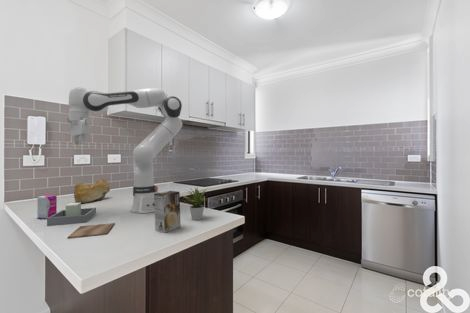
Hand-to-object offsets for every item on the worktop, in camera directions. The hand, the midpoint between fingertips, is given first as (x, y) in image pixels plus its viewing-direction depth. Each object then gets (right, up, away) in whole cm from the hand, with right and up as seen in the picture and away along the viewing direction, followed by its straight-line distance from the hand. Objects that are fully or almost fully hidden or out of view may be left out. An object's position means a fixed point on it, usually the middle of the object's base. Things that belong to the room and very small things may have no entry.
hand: (79, 144), depth 120 cm
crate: (+1, -39, -6) cm, 39 cm away
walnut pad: (+22, -39, -23) cm, 50 cm away
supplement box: (-16, -39, -2) cm, 42 cm away
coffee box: (+54, -39, -22) cm, 70 cm away
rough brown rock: (-21, -39, +41) cm, 60 cm away
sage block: (+1, -39, -6) cm, 39 cm away
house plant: (+65, -38, -6) cm, 76 cm away
